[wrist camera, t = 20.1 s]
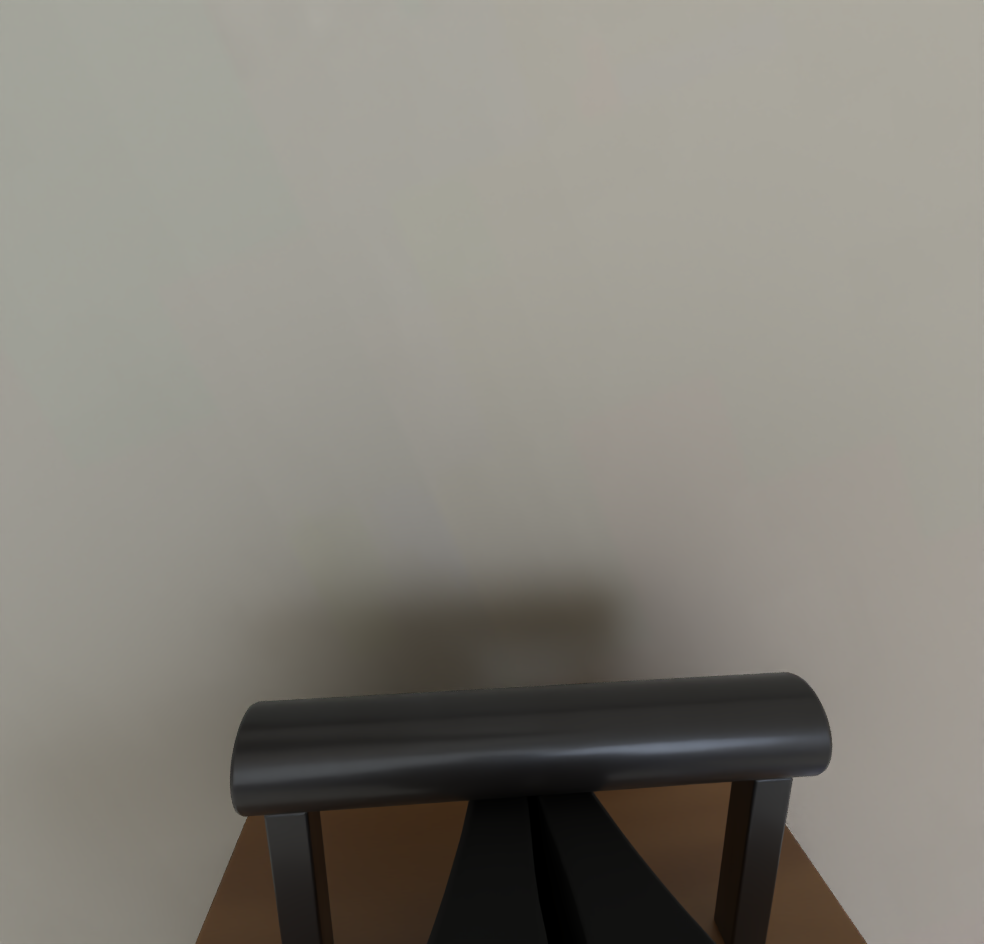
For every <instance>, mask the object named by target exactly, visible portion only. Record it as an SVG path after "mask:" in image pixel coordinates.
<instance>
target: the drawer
mask: <svg viewBox="0 0 984 944" xmlns="http://www.w3.org/2000/svg"><path fill="white" fill-rule="evenodd" d="M831 755H832V737H831V731H830V726H829V722H828V719H827V716H826V713H825V711H824V708H823V706H822V704H821V702H820V700H819V698H818V697H817V695H816V694H815V692H814V691H813V689H812V688H811V687H810V686H809V685H808V683H807V682H806V681H804V680H803V679H802V678H800V677H799V676H797V675H795V674H792V673H789V672H780V673H762V674H744V675H726V676H708V677H690V678H672V679H654V680H636V681H619V682H601V683H583V684H565V685H547V686H529V687H511V688H493V689H475V690H457V691H440V692H422V693H404V694H386V695H368V696H350V697H332V698H314V699H296V700H278V701H261V702H257V703H255V704H253V705H251V706H250V707H249V708H248V710H247V711H246V713H245V715H244V717H243V719H242V721H241V724H240V726H239V729H238V732H237V736H236V739H235V743H234V748H233V753H232V760H231V771H230V789H231V798H232V803H233V807H234V809H235V811H236V812H237V813H238V814H239V815H241V816H245V817H246V816H248V817H247V819H246V822H245V824H244V826H243V829H242V831H241V834H240V836H239V839H238V841H237V843H236V846H235V848H234V851H233V853H232V856H231V858H230V860H229V863H228V865H227V868H226V870H225V873H224V875H223V878H222V880H221V882H220V885H219V887H218V890H217V892H216V895H215V897H214V899H213V902H212V904H211V907H210V909H209V912H208V914H207V916H206V919H205V921H204V924H203V926H202V929H201V931H200V933H199V936H198V938H197V941H196V943H195V944H427V942H428V939H429V936H430V934H431V931H432V928H433V925H434V922H435V919H436V916H437V913H438V910H439V907H440V904H441V901H442V898H443V895H444V892H445V889H446V885H447V882H448V879H449V875H450V872H451V868H452V865H453V861H454V858H455V855H456V851H457V848H458V844H459V841H460V837H461V833H462V828H463V824H464V820H465V815H466V811H467V806H468V802H469V801H470V800H484V799H498V798H512V797H526V796H540V795H554V794H568V793H582V792H594V794H595V795H596V796H597V798H598V799H599V801H600V802H601V804H602V805H603V806H604V808H605V809H606V810H607V812H608V813H609V815H610V816H611V817H612V819H613V820H614V822H615V823H616V824H617V826H618V827H619V828H620V830H621V831H622V833H623V834H624V835H625V836H626V838H627V839H628V840H629V842H630V843H631V844H632V846H633V847H634V848H635V849H636V851H637V852H638V853H639V855H640V856H641V857H642V858H643V859H644V861H645V862H646V863H647V864H648V866H649V867H650V868H651V869H652V871H653V872H654V873H655V874H656V876H657V877H658V878H659V879H660V881H661V882H662V883H663V884H664V885H665V886H666V888H667V889H668V890H669V891H670V892H671V894H672V895H673V896H674V897H675V898H676V899H677V901H678V902H679V903H680V904H681V905H682V906H683V907H684V909H685V910H686V911H687V912H688V913H689V914H690V915H691V916H692V917H693V919H694V920H695V921H696V922H697V923H698V924H699V925H700V926H701V927H702V928H703V930H704V931H705V932H706V933H707V934H708V935H709V936H710V937H711V938H712V939H713V941H714V942H715V943H716V944H867V943H866V941H865V940H864V938H863V937H862V935H861V934H860V933H859V931H858V930H857V928H856V927H855V925H854V924H853V922H852V921H851V919H850V918H849V916H848V915H847V914H846V912H845V911H844V909H843V908H842V906H841V905H840V903H839V902H838V900H837V899H836V897H835V896H834V895H833V893H832V892H831V890H830V889H829V887H828V886H827V884H826V883H825V881H824V880H823V879H822V877H821V876H820V874H819V873H818V871H817V870H816V868H815V867H814V865H813V864H812V862H811V861H810V860H809V858H808V857H807V855H806V854H805V852H804V851H803V849H802V848H801V846H800V845H799V843H798V842H797V841H796V839H795V838H794V836H793V835H792V833H791V832H790V830H789V829H788V827H787V826H786V825H785V823H786V817H787V811H788V805H789V799H790V793H791V787H792V781H793V779H792V777H806V776H816V775H819V774H821V773H822V772H823V771H825V770H826V768H827V767H828V765H829V763H830V760H831Z"/></svg>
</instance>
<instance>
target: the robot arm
mask: <svg viewBox="0 0 984 944" xmlns="http://www.w3.org/2000/svg"><path fill="white" fill-rule="evenodd" d="M427 944H716V943H715V942H714V941H713V939H712V938H711V937H710V936H709V935H708V934H707V933H706V932H705V931H704V930H703V928H702V927H701V926H700V925H699V924H698V923H697V922H696V921H695V920H694V919H693V917H692V916H691V915H690V914H689V913H688V912H687V911H686V910H685V909H684V907H683V906H682V905H681V904H680V903H679V902H678V901H677V899H676V898H675V897H674V896H673V895H672V894H671V892H670V891H669V890H668V889H667V888H666V886H665V885H664V884H663V883H662V882H661V881H660V879H659V878H658V877H657V876H656V874H655V873H654V872H653V871H652V869H651V868H650V867H649V866H648V864H647V863H646V862H645V861H644V859H643V858H642V857H641V856H640V855H639V853H638V852H637V851H636V849H635V848H634V847H633V846H632V844H631V843H630V842H629V840H628V839H627V838H626V836H625V835H624V834H623V833H622V831H621V830H620V828H619V827H618V826H617V824H616V823H615V822H614V820H613V819H612V817H611V816H610V815H609V813H608V812H607V810H606V809H605V808H604V806H603V805H602V804H601V802H600V801H599V799H598V798H597V796H596V795H595V794H594V792H582V793H568V794H554V795H540V796H526V797H512V798H498V799H484V800H470V801H469V802H468V806H467V811H466V815H465V820H464V824H463V828H462V833H461V837H460V841H459V844H458V848H457V851H456V855H455V858H454V861H453V865H452V868H451V872H450V875H449V879H448V882H447V885H446V889H445V892H444V895H443V898H442V901H441V904H440V907H439V910H438V913H437V916H436V919H435V922H434V925H433V928H432V931H431V934H430V936H429V939H428V942H427Z"/></svg>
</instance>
